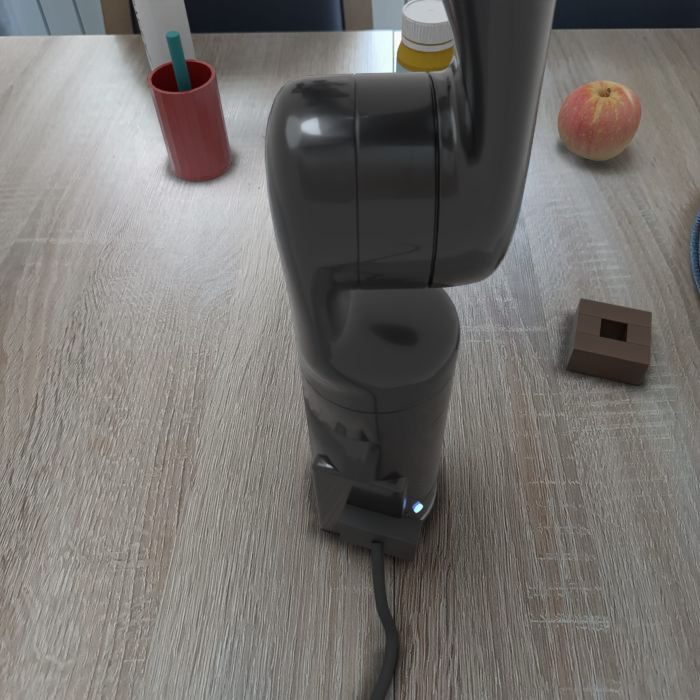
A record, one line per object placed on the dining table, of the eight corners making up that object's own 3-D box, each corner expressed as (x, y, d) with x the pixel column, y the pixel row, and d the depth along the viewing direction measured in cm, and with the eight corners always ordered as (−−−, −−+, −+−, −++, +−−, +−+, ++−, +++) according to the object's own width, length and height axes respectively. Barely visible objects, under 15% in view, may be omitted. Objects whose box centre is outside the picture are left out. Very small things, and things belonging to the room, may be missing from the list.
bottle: (384, 141, 81) (387, 17, 69) (408, 113, 84) (414, -10, 73) (437, 156, 78) (448, 30, 67) (459, 126, 82) (473, 2, 71)
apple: (611, 182, 75) (633, 118, 68) (539, 156, 78) (553, 94, 72) (638, 144, 79) (661, 82, 73) (568, 122, 82) (584, 60, 76)
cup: (216, 186, 76) (196, 98, 67) (161, 175, 77) (135, 88, 69) (241, 151, 80) (226, 64, 72) (188, 141, 82) (167, 55, 73)
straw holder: (638, 385, 57) (650, 364, 54) (565, 369, 58) (573, 348, 56) (641, 333, 60) (652, 311, 58) (572, 319, 62) (580, 297, 59)
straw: (204, 163, 78) (175, 37, 66) (193, 162, 78) (162, 36, 66) (209, 157, 79) (181, 31, 67) (199, 155, 79) (169, 29, 67)
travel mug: (205, 67, 93) (172, -95, 78) (193, 92, 89) (156, -75, 73) (162, 66, 94) (121, -96, 78) (148, 90, 90) (102, -76, 74)
